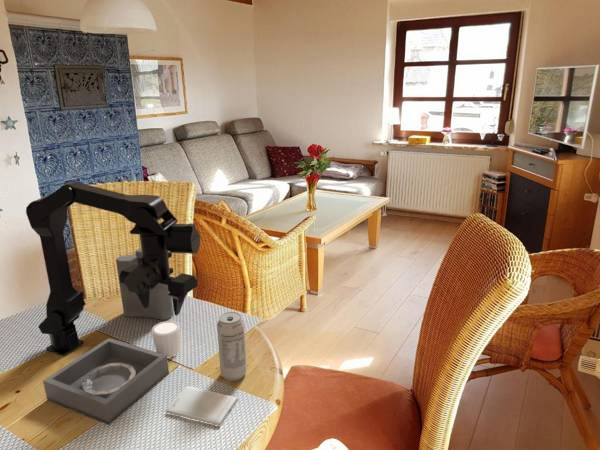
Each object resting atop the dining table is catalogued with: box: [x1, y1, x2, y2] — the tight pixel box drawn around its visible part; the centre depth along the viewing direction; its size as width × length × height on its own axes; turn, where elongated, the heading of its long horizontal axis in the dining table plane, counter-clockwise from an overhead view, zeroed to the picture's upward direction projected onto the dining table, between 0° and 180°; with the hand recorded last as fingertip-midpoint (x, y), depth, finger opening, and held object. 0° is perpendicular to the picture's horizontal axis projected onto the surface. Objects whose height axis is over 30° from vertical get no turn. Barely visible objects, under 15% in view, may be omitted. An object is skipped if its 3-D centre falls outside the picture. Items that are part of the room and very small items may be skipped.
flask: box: [115, 247, 174, 321], centre depth 131 cm, size 15×6×20 cm, turn 80°
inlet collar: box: [81, 363, 136, 399], centre depth 102 cm, size 11×11×2 cm
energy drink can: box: [216, 311, 248, 382], centre depth 104 cm, size 6×6×15 cm
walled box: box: [42, 337, 170, 426], centre depth 102 cm, size 18×18×5 cm
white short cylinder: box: [151, 320, 181, 357], centre depth 114 cm, size 7×7×7 cm
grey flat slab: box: [165, 385, 239, 427], centre depth 96 cm, size 2×8×12 cm
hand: (161, 311), depth 111 cm, fingers open, 9 cm apart
